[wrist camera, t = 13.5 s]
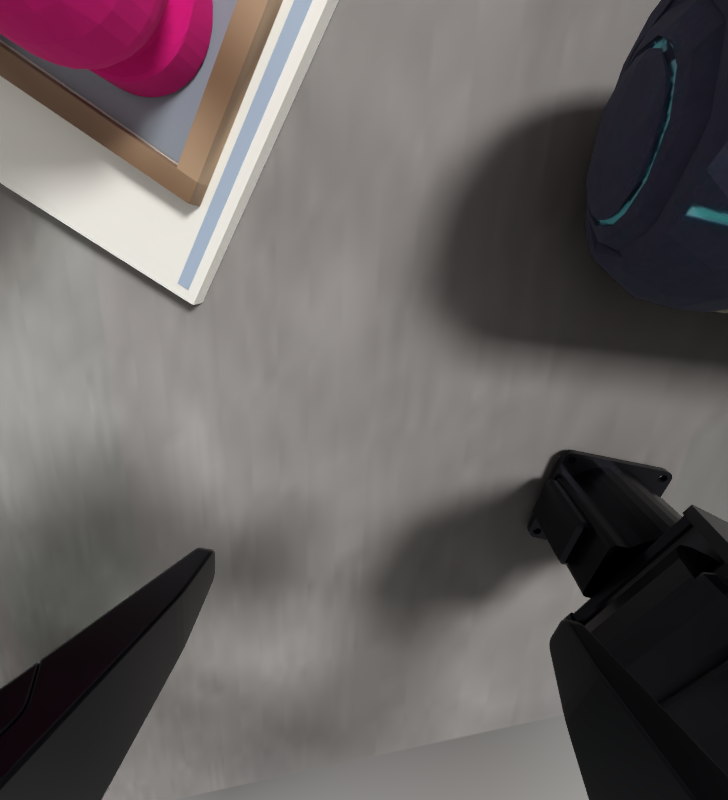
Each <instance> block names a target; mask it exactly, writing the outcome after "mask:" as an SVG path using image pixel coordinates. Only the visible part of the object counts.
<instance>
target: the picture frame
mask: <svg viewBox="0 0 728 800" xmlns="http://www.w3.org/2000/svg"><path fill="white" fill-rule="evenodd" d="M212 1H213V26H212V33H211V39H210V44H209V47H208V51H207V55H206V56H205V58H204V60H203V62H202V64H201V66H200V67H199V69H198V71H197V73H196V74H195V76H194V77H193V78H192V79H191V80H190V81H189V82H188V83H187V84H186V85H185V86H183V87H182V88H180V89H179V90H177V91H176V92H174V93H171V94H167V95H164V96H161V97H142V96H137V95H133V94H131V93H128V92H126V91H124V90H122V89H120V88H118V87H116V86H115V85H113V84H111V83H110V82H108V81H107V80H105V79H103V78H102V77H100V76H98V75H97V74H95V73H93V72H92V71H90V70H89V69H72V68H68V67H64V66H60V65H56V64H54V63H51V62H49V61H46V60H44V59H42V58H39V57H37V56H35V55H33V54H31V53H30V52H28V51H26V50H25V49H23V48H22V47H20V46H18V45H17V44H15V43H14V42H12V41H10V40H9V39H7V38H6V37H4V36H3V35H1V34H0V42H1V43H3V44H4V45H6V46H7V47H8V48H10V49H11V50H13V51H14V52H16V53H17V54H19V55H20V56H21V57H23V58H24V59H26V60H27V61H29V62H30V63H31V64H33V65H34V66H36V67H37V68H39V69H40V70H42V71H43V72H44V73H46V74H47V75H49V76H50V77H52V78H53V79H54V80H56V81H57V82H59V83H60V84H62V85H63V86H65V87H66V88H67V89H69V90H70V91H72V92H73V93H75V94H76V95H78V96H79V97H80V98H82V99H83V100H85V101H86V102H88V103H89V104H90V105H92V106H93V107H95V108H96V109H98V110H99V111H101V112H102V113H103V114H105V115H106V116H108V117H109V118H111V119H112V120H114V121H115V122H116V123H118V124H119V125H121V126H122V127H124V128H125V129H126V130H128V131H129V132H131V133H132V134H134V135H135V136H137V137H138V138H139V139H141V140H142V141H144V142H145V143H147V144H148V145H149V146H151V147H152V148H154V149H155V150H157V151H158V152H160V153H161V154H162V155H164V156H165V157H167V158H168V159H170V160H171V161H173V162H174V163H175V164H177V165H178V163H179V160H180V157H181V154H182V152H183V149H184V146H185V143H186V141H187V138H188V135H189V132H190V130H191V127H192V124H193V121H194V119H195V116H196V113H197V110H198V108H199V105H200V102H201V99H202V97H203V94H204V91H205V88H206V85H207V83H208V80H209V77H210V74H211V72H212V69H213V66H214V63H215V61H216V58H217V55H218V52H219V50H220V47H221V44H222V41H223V39H224V36H225V33H226V30H227V28H228V25H229V22H230V19H231V17H232V14H233V11H234V8H235V5H236V3H237V0H212ZM338 1H339V0H283V2H282V4H281V7H280V9H279V12H278V14H277V17H276V19H275V22H274V24H273V27H272V29H271V32H270V34H269V37H268V39H267V42H266V44H265V47H264V49H263V52H262V54H261V57H260V59H259V62H258V64H257V66H256V69H255V71H254V74H253V76H252V79H251V81H250V84H249V86H248V89H247V91H246V94H245V96H244V99H243V101H242V104H241V106H240V109H239V111H238V114H237V116H236V119H235V121H234V124H233V126H232V129H231V131H230V134H229V136H228V139H227V141H226V144H225V146H224V148H223V151H222V153H221V156H220V158H219V161H218V163H217V166H216V168H215V171H214V173H213V176H212V178H211V181H210V183H209V186H208V188H207V191H206V193H205V196H204V198H203V201H202V203H201V206H200V207H199V206H195V205H191V204H188V203H187V202H185V201H184V200H182V199H181V198H179V197H178V196H176V195H175V194H173V193H172V192H171V191H169V190H168V189H166V188H165V187H163V186H162V185H160V184H159V183H157V182H156V181H154V180H153V179H151V178H150V177H148V176H147V175H146V174H144V173H143V172H141V171H140V170H138V169H137V168H135V167H134V166H132V165H131V164H129V163H128V162H126V161H125V160H123V159H122V158H121V157H119V156H118V155H116V154H115V153H113V152H112V151H110V150H109V149H107V148H106V147H104V146H103V145H101V144H100V143H98V142H97V141H96V140H94V139H93V138H91V137H90V136H88V135H87V134H85V133H84V132H82V131H81V130H79V129H78V128H76V127H75V126H73V125H72V124H71V123H69V122H68V121H66V120H65V119H63V118H62V117H60V116H59V115H57V114H56V113H54V112H53V111H51V110H50V109H48V108H47V107H46V106H44V105H43V104H41V103H40V102H38V101H37V100H35V99H34V98H32V97H31V96H29V95H28V94H26V93H25V92H23V91H22V90H21V89H19V88H18V87H16V86H15V85H13V84H12V83H10V82H9V81H7V80H6V79H4V78H3V77H1V76H0V183H1V184H3V185H4V186H6V187H7V188H9V189H11V190H12V191H14V192H15V193H17V194H18V195H20V196H22V197H23V198H25V199H26V200H28V201H29V202H31V203H33V204H34V205H36V206H37V207H39V208H41V209H42V210H44V211H45V212H47V213H48V214H50V215H52V216H53V217H55V218H56V219H58V220H59V221H61V222H63V223H64V224H66V225H67V226H69V227H71V228H72V229H74V230H75V231H77V232H78V233H80V234H82V235H83V236H85V237H86V238H88V239H89V240H91V241H93V242H94V243H96V244H97V245H99V246H101V247H102V248H104V249H105V250H107V251H108V252H110V253H112V254H113V255H115V256H116V257H118V258H119V259H121V260H123V261H124V262H126V263H127V264H129V265H131V266H132V267H134V268H135V269H137V270H138V271H140V272H142V273H143V274H145V275H146V276H148V277H149V278H151V279H153V280H154V281H156V282H157V283H159V284H161V285H162V286H164V287H165V288H167V289H168V290H170V291H172V292H173V293H175V294H176V295H178V296H179V297H181V298H183V299H184V300H186V301H187V302H189V303H191V304H192V305H196V304H199V303H203V301H204V298H205V296H206V294H207V292H208V289H209V287H210V285H211V283H212V281H213V278H214V276H215V274H216V272H217V269H218V267H219V265H220V263H221V261H222V258H223V256H224V254H225V252H226V250H227V247H228V245H229V243H230V241H231V238H232V236H233V234H234V232H235V230H236V227H237V225H238V223H239V221H240V218H241V216H242V214H243V212H244V210H245V207H246V205H247V203H248V201H249V199H250V196H251V194H252V192H253V190H254V187H255V185H256V183H257V181H258V179H259V176H260V174H261V172H262V170H263V168H264V165H265V163H266V161H267V159H268V156H269V154H270V152H271V150H272V148H273V145H274V143H275V141H276V139H277V136H278V134H279V132H280V130H281V128H282V125H283V123H284V121H285V119H286V117H287V114H288V112H289V110H290V108H291V105H292V103H293V101H294V99H295V97H296V94H297V92H298V90H299V88H300V86H301V83H302V81H303V79H304V77H305V74H306V72H307V70H308V68H309V66H310V63H311V61H312V59H313V57H314V54H315V52H316V50H317V48H318V46H319V43H320V41H321V39H322V37H323V35H324V32H325V30H326V28H327V26H328V23H329V21H330V19H331V17H332V15H333V12H334V10H335V8H336V6H337V4H338Z"/></svg>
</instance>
